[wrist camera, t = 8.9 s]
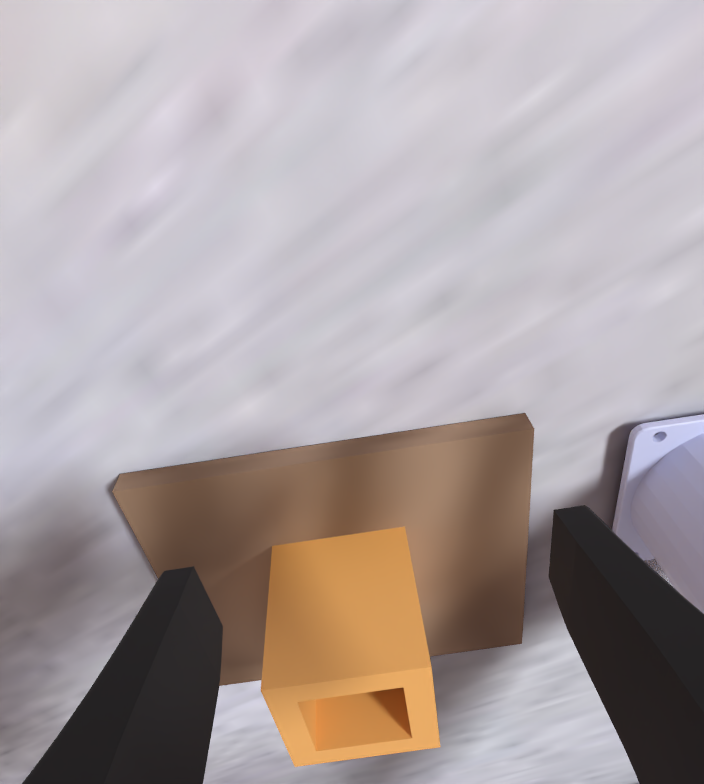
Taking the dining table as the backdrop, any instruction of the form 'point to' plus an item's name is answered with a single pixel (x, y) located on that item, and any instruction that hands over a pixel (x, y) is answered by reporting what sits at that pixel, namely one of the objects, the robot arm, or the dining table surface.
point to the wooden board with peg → (352, 525)
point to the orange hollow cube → (347, 649)
